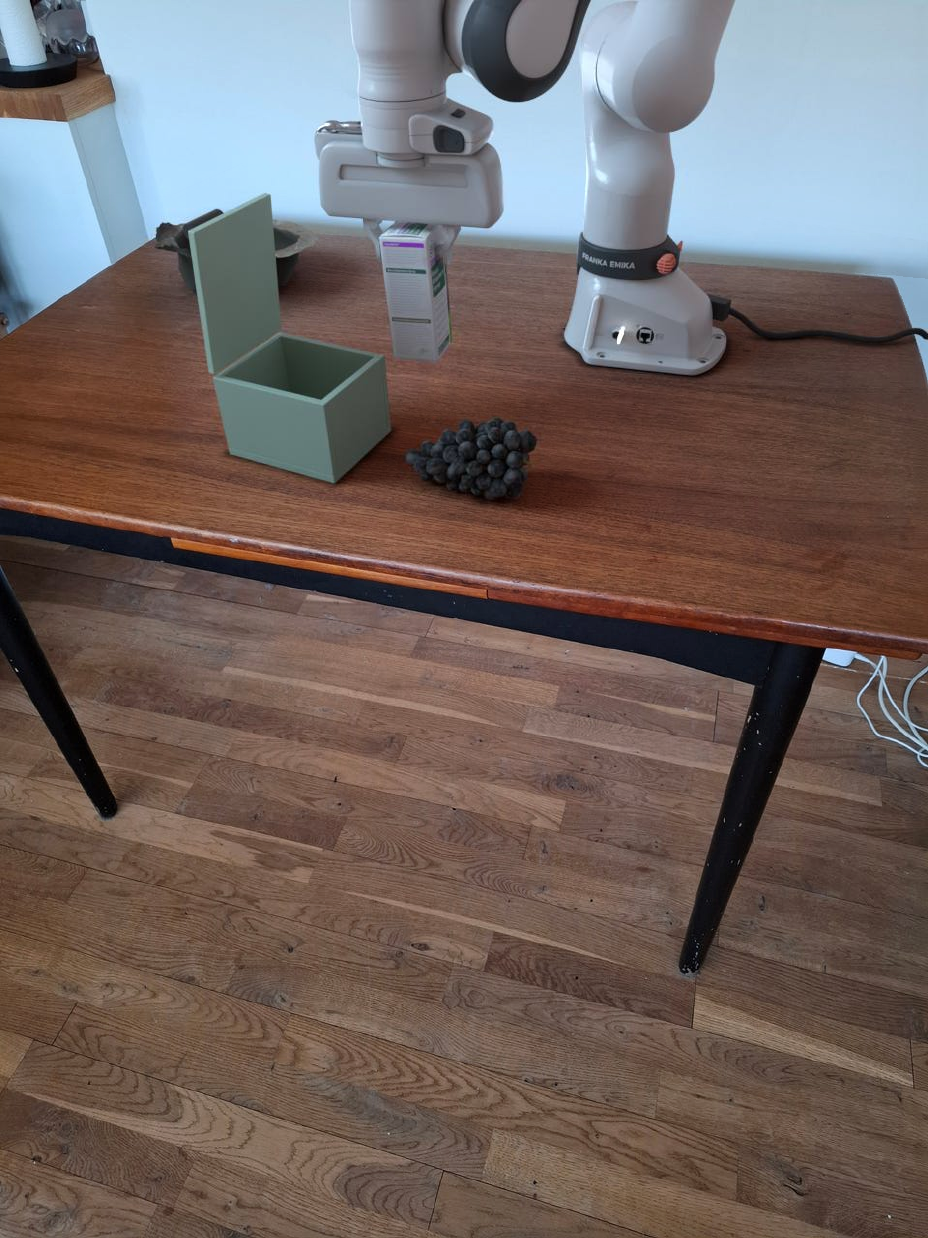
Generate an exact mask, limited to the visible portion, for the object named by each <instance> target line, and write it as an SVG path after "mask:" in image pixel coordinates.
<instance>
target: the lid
mask: <svg viewBox="0 0 928 1238" xmlns="http://www.w3.org/2000/svg"><path fill="white" fill-rule="evenodd" d="M272 207H273V205H272V195H271V193H267V192H264V193H262V194H260V195H258V196H256V197H253V198H252V199H250V200H248V201H246V202H244V203H242V204H240V205H237V206H236V207H234V208H232V209H229V210H228V211H226V212H224V211H223V210H221V209H220V208H214V209H212V210H210V211H208V212H205V213H204V214H202V215H200V216H198V217H195V218H194V219H191V220H190V221H187V222H185V223H184V224H183V225H184V226H183V225H182V226H183V232H184V235H185V236H186V237H187V239H189V241H190V248H191V254H192V261H193V268H194V275H195V282H196V289H197V293H196V296H197V302H198V309H199V315H200V321H201V328H202V336H203V342H204V343H203V344H204V350H205V357H206V364H207V370H208V374H211V375H217V374H218V373H220V372H221V371H223V370H224V369H226V368H227V367H229V366H230V365H232V364H233V362H234V363H235V362H236V361H237V360H239V358H242V357H243V356H245V355H246V354H248V353H249V352H251V351H252V350H254V349H255V348H257V347H258V346H260V345H261V344H263V343H264V342H265V341H267V340H268V339H270V338H271V337H273V336H274V335H276V334H277V333H279V331H281V330H282V323H281V322H282V321H281V309H280V297H279V295H280V294H279V287H278V282H277V269H276V256H275V244H274V231H273V219H274V218H273V208H272Z"/></svg>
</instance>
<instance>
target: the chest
mask: <svg viewBox="0 0 928 1238" xmlns="http://www.w3.org/2000/svg"><path fill="white" fill-rule="evenodd" d="M387 377H388V376H387V366H386V355H385V354H382V353H381V354H380V353H375V352H371V351H368V350H362V349H358V348H354V347H349V346H344V345H340V344H335V343H331V342H326V341H321V340H317V339H312V338H307V337H303V336H299V335H293V334H291V333H285V332H281V331H280V332H279V331H278V332H277V333H275V334H274V335H272V336H271V337H269V338H268V339H266V340H265V341H263V342H262V343H260V344H259V345H257V346H256V347H254V348H253V349H252V350H250V351H249V352H247V353H246V354H244V355H243V356H241V357H240V359H239V358H238V359H237V360H235V361H234V363H233V362H232V363H231V364H229V365H228V366H227V367H225V368H224V369H222V370H221V371H219V372H218V373H217V374H215V376H213V377H212V381H213V386H214V389H215V395H216V399H217V402H218V408H219V412H220V417H221V420H222V424H223V429H224V433H225V438H226V443H227V446H228V451H229V455H230V456H231V455H232V456H236V457H239V458H242V459H246V460H250V461H253V462H256V463H261V464H264V465H267V466H270V467H274V468H277V469H282V470H285V471H289V472H292V473H295V474H299V475H302V476H306V477H309V478H313V479H317V480H319V481H324V482H327V483H331V484H336V483H337V482H338V481H339V480H340V479H341V478H342V477H344V476H345V475H346V474H347V473H348V472H349V471H350V470H351V469H352V468H353V467H354V466H355V465H356V464H357V463H358V462H360V461H361V460H362V459H363V458H364V457H365V456H366V455H367V454H368V453H369V452H370V451H372V449H373V448H374V447H375V446H377V445H378V444H379V443H380V442H381V441H382V440H383V439H384V438H385V437H386V436H387V435H389V433H391V432H392V425H391V413H390V401H389V389H388V378H387Z"/></svg>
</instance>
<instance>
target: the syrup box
mask: <svg viewBox="0 0 928 1238" xmlns="http://www.w3.org/2000/svg"><path fill="white" fill-rule="evenodd" d="M379 241H380V249H381V258H382V260H381V264H382V272H383V282H384V289H385V297H386V305H387V312H388V313H387V315H388V322H389V330H390V338H391V345H392V354H393V358H394V359H397V360H404V361H405V360H406V361H414V362H425V363H426V362H427V363H439V361H440V359H441V357H442V356H443V355H444V354H445V353H446V351H447V349H448V348H449V346H450V345H451V343H452V342H453V333H452V319H451V308H450V293H449V292H450V291H449V279H448V278H449V277H448V267H447V266H445V265H437V264H436V262H435V259H436V257H435V253H434V250H435V248H436V247H438V245H439V244H444V243H445V241H446V239H445V235H444V234H443V229H442V225H436V224H423V223H411V222H398V221H393V223H392V224H391V225H390V226H389V227H388V228H386V230H385V231H384V232H383V234H382V235H381V236H380V237H379Z"/></svg>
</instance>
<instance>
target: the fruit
mask: <svg viewBox="0 0 928 1238" xmlns="http://www.w3.org/2000/svg"><path fill="white" fill-rule="evenodd" d="M457 430H458V431H455V430H454V429H451V428H447V429H444V430H443V431H442V432H441V433H440V437H439V438H438V439H437V441H436V443H435V442H434V441H432V440H424V441H423V442H421V445H420V446H419V449H416V448H412V449H408V450H407V452H406V453H405V462H406V463H407V464H408V465H409V466H411V467H413V470H414V471H415V473H416V474H418V476H419V479H421V480H422V481H423V482H424V483H427V482H431V481H433V480H434V481H436V482H437V483H438V484H444V483H445V485H446V488H447V490H448V491H450V492H457V491H458V490H460V491H461V492H462V493H467V494H468V493H470V492H471V493H472V494H473V495H475V496H477V497H479V496H482V497H484V498H485V500H488V501H495V500H496V499H497V498H502V497H504V496H505V497H506V498H507V499H509V500H516V499H518V498H519V497H520V496H521V494H522V492H523V489H524V487H525V482H527V480H528V476H529V472H528V470H527V468H526V467H525V466H528V467H530V468H531V469H534V468H535V467H534V465H533V463H531V462H530V459H531V458H530V454H529V453H532V452H533V451H534V450H535V448H536V446H537V442H538V438H537V436H536V435H534V433H533V432H532V431H531V430H528V429H522V430H520V431H518V428H517V425H516V423H515V422H513V421H511V420H504V418H502V417H498V416H495V417H493V418H492V419H490V420H489V421H481V422H479V423H478V424H477V425H476V426H475V423H474V422H473V421H472V420H470V419H462V420H461V421H460V422H459V423H458V426H457Z"/></svg>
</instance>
